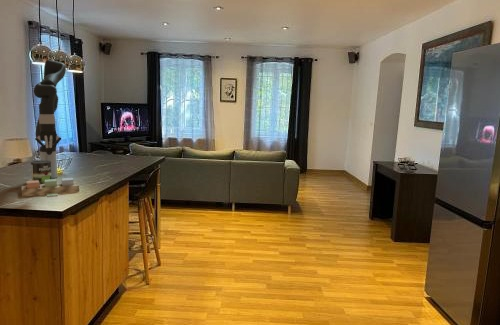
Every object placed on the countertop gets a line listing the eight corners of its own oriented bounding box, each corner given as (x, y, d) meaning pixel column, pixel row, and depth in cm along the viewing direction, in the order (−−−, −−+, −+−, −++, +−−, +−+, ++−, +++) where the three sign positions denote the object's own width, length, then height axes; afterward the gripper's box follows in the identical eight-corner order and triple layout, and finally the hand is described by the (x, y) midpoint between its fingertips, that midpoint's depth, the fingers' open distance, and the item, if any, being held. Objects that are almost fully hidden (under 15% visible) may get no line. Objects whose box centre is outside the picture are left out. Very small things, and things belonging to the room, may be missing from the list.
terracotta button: (27, 190, 194) (26, 183, 193) (27, 188, 199) (26, 181, 198) (39, 189, 197) (38, 182, 196) (38, 187, 201) (38, 180, 201)
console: (22, 196, 191) (21, 190, 190) (22, 192, 200) (21, 185, 199) (79, 191, 205) (79, 185, 204) (76, 187, 214) (76, 181, 213)
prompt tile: (47, 197, 192) (47, 195, 192) (46, 194, 196) (46, 193, 196) (57, 196, 194) (57, 194, 194) (57, 193, 199) (57, 192, 199)
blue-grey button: (62, 187, 203) (62, 180, 202) (61, 185, 207) (61, 178, 207) (73, 186, 205) (73, 179, 205) (72, 184, 210) (72, 177, 209)
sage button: (45, 189, 198) (44, 181, 198) (44, 186, 203) (44, 179, 202) (56, 188, 201) (56, 180, 200) (56, 185, 206) (55, 178, 205)
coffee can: (55, 185, 218) (54, 161, 216) (38, 188, 210) (36, 163, 207) (46, 182, 224) (44, 159, 221) (28, 185, 215) (26, 161, 213)
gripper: (60, 122, 203) (62, 153, 206) (32, 122, 196) (35, 154, 199) (61, 123, 197) (63, 155, 199) (33, 123, 190) (35, 156, 192)
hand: (49, 154), depth 199 cm, fingers closed
